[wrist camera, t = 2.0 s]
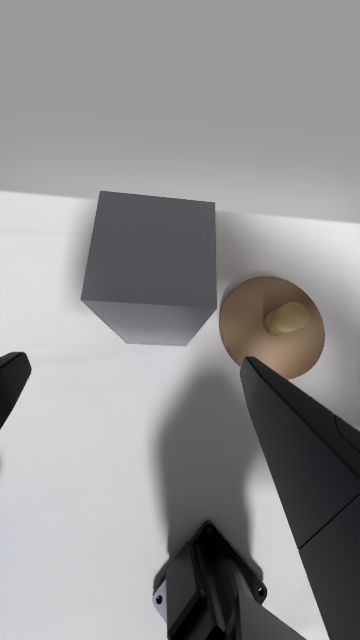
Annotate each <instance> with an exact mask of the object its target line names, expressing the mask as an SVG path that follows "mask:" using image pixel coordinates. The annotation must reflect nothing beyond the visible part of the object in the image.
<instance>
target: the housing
mask: <svg viewBox="0 0 360 640" xmlns="http://www.w3.org/2000/svg"><path fill="white" fill-rule="evenodd" d="M81 301H82V302H83V303H84V304H85V305H86V306H88V307H89V308H90V309H91V310H92V311H93V312H94V313H95V314H96V315H97V316H98V317H99V318H100V319H101V320H102V321H103V322H104V323H105V324H106V325H108V326H109V327H110V328H111V329H112V330H113V331H114V332H115V333H116V334H117V335H118V336H119V337H120V338H121V339H122V340H123V341H124V342H125V343H128V344H150V345H171V346H186V345H187V344H188V343H189V342H190V340H191V339H192V338H193V337H194V336H195V334H196V333H197V332H198V331H199V330H200V328H201V327H202V326H203V325H204V323H205V322H206V321H207V320H208V319H209V317H210V316H211V315H212V314H213V312H214V311H215V310H216V309H217V290H216V233H215V203H214V202H204V201H194V200H185V199H175V198H166V197H156V196H146V195H136V194H127V193H117V192H108V191H100V195H99V200H98V206H97V211H96V217H95V223H94V228H93V234H92V239H91V245H90V251H89V256H88V262H87V267H86V273H85V279H84V284H83V290H82V295H81Z"/></svg>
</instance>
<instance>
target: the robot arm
mask: <svg viewBox="0 0 360 640" xmlns="http://www.w3.org/2000/svg"><path fill="white" fill-rule="evenodd" d="M31 370H32V369H31V365H30V362H29V360H28V357H27V355H26V353H24V352H11V353H9V354H6V355H4V356H2V357H0V429H1V428H2V426H3V424H4V423H5V421H6V420H7V418H8V416H9V415H10V413H11V411H12V410H13V408H14V406H15V404H16V402H17V400H18V398H19V396H20V394H21V392H22V390H23V388H24V386H25V384H26V382H27V380H28V378H29V376H30V374H31ZM240 377H241V382H242V386H243V390H244V394H245V399H246V403H247V407H248V410H249V413H250V416H251V419H252V422H253V424H254V427H255V430H256V433H257V436H258V439H259V441H260V444H261V447H262V450H263V453H264V455H265V458H266V461H267V464H268V467H269V469H270V472H271V475H272V478H273V481H274V484H275V486H276V489H277V492H278V495H279V498H280V500H281V503H282V506H283V509H284V512H285V514H286V517H287V520H288V523H289V526H290V529H291V531H292V534H293V537H294V540H295V543H296V545H297V548H298V549H299V554H300V557H301V560H302V563H303V566H304V568H305V571H306V574H307V577H308V580H309V582H310V585H311V588H312V591H313V594H314V597H315V599H316V602H317V605H318V608H319V611H320V613H321V616H322V619H323V622H324V625H325V627H326V630H327V633H328V636H329V639H330V640H360V431H358V430H357V429H355V428H354V427H352V426H351V425H349V424H348V423H347V422H345V421H344V420H342V419H341V418H340V417H338V416H337V415H335V414H334V415H333V413H332V412H331V411H330V410H328V409H327V408H326V407H324V406H323V405H321V404H320V403H319V402H317V401H316V400H314V399H313V398H312V397H310V396H309V395H307V394H306V393H305V392H303V391H302V390H300V389H299V388H298V387H296V386H295V385H293V384H292V383H291V382H289V381H288V380H286V379H285V378H284V377H282V376H281V375H280V374H278V373H277V372H275V371H274V370H273V369H271V368H270V367H268V366H267V365H266V364H264V363H263V362H261V361H260V360H259V359H257V358H256V357H254V356H245V357H244V358H243V362H242V365H241V369H240ZM208 528H212V530H211V531H210V532H208V531H207V529H208ZM259 588H261V590H260V591H258V589H259ZM158 595H161V596H162V597H161V598H159V599H158V598H157V596H158ZM266 596H267V588H266V586H265V584H264V583H263V581H262V580H261V578H260V577H259V576H258V575H257V574H256V573H255V571H254V570H253V569H252V568H251V567H250V565H249V564H248V563H247V562H246V561H245V560H244V558H243V557H242V556H241V555H240V554H239V553H238V551H237V550H236V549H235V548H234V547H233V545H232V544H231V543H230V542H229V541H228V540H227V538H226V537H225V536H224V535H223V534H222V532H221V531H220V530H219V529H218V528H217V527H216V525H215V524H214V523H213V522H212V521H209V520H208V521H206V522H205V523H204V524H203V525H202V527H201V528H200V529H199V531H198V532H197V533H196V535H195V536H194V537H193V539H192V540H191V541H188V542H187V543H186V545H185V546H184V547H183V549H182V550H181V551H180V552H179V554H178V555H177V556H176V558H175V559H174V560H173V562H172V563H171V564H170V566H169V567H168V568H167V570H166V574H165V576H164V577H163V578H162V580H161V581H160V582H159V584H158V585H157V586H156V587H155V589H154V591H153V605H154V607H155V608H156V609H157V611H158V612H159V613H160V615H161V616H162V617H163V619H164V620H165V621H166V623H167V638H168V640H306V639H305V638H304V637H302V636H301V635H300V634H298V633H297V632H296V631H294V630H293V629H292V628H290V627H289V626H288V625H287V624H285V623H284V622H283V621H281V620H280V619H279V618H277V617H276V616H275V615H273V614H272V613H271V612H269V611H268V610H267V609H265V608H264V607H263V606H261V605H262V603H263V602H264V600H265V598H266Z"/></svg>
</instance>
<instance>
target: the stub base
mask: <svg viewBox="0 0 360 640" xmlns="http://www.w3.org/2000/svg"><path fill="white" fill-rule="evenodd" d="M219 329H220V335H221V339H222V342H223V344H224V346H225V348H226V350H227V352H228V353H229V355H230V356H231V358H232V359H233V360H234V361H235V362H236V363H237V364H238V365H239V366H240V367H241V365H242V362H243V358H244V357H245V356H254V357H256V358H257V359H259V360H260V361H261V362H263V363H264V364H266V365H267V366H268V367H270V368H271V369H273V370H274V371H275V372H277V373H278V374H280V375H281V376H282V377H284V378H285V379H292V378H295V377H298V376H301V375H303V374H304V373H306V372H307V371H309V370H310V369H311V368H312V367H313V366H314V365H315V364H316V362H317V361H318V359H319V358H320V355H321V353H322V350H323V347H324V341H325V332H324V325H323V321H322V318H321V315H320V313H319V311H318V309H317V307H316V305H315V304H314V302H313V301H312V300H311V299H310V297H309V296H308V295H307V294H306V293H305V292H304V291H302V290H301V289H300V288H299V287H297V286H296V285H294V284H292V283H290V282H288V281H286V280H283V279H280V278H276V277H256V278H252V279H249V280H247V281H245V282H243V283H241V284H240V285H239V286H237V287H236V288H235V289H234V290H233V291H232V293H231V294H230V295H229V296H228V297H227V299H226V300H225V302H224V304H223V306H222V309H221V312H220V318H219Z"/></svg>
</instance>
